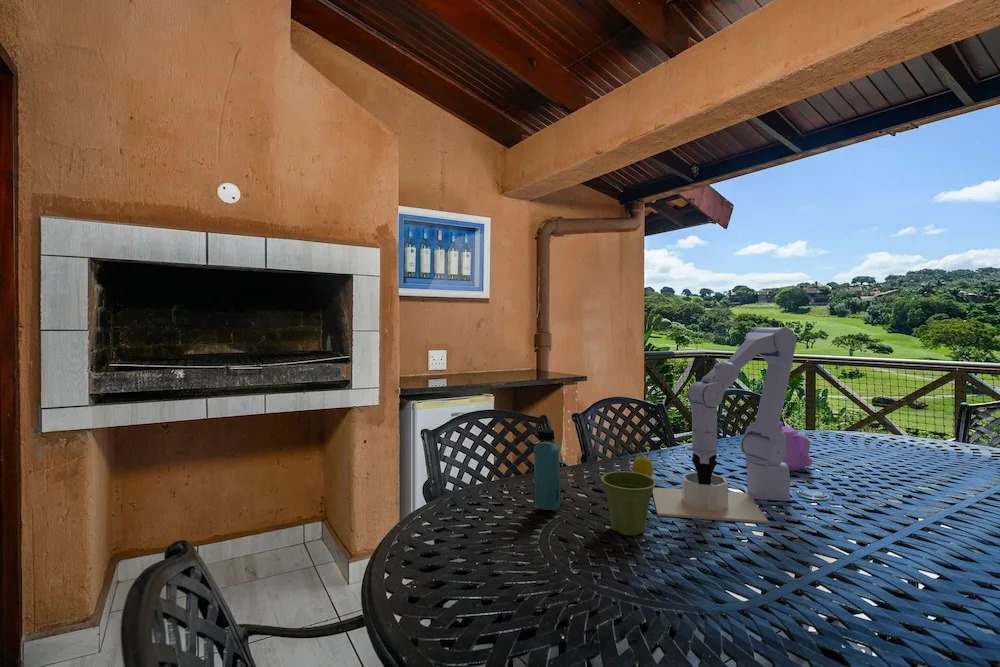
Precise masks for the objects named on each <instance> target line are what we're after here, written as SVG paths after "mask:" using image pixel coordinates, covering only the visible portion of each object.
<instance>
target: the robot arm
mask: <svg viewBox="0 0 1000 667" xmlns="http://www.w3.org/2000/svg"><path fill="white" fill-rule="evenodd" d="M744 339H745V340H744V341H743V343H742V344H741V345H739V347H738V348H737V349H736V350H735V352H733V354H732V355H731V356H730V358H728V360H727V361H719V362H716V363H715V364H714V365H713V368H711V370H710V371H709V372H708V373H707V374H706V375H704V376H703V377H702V378H701V380H700V381H695V382H693V383H692V384H691V385H690V386H689V387H688V390H687V392H686V398H687V400H688V402H689V404H690V410H691V443H692V444H691V445H688V446H687V448H686V450H687V451H691V452H692V458H691V462H692V464H693V466H694V467H695V471H696V472H697V475H698V481H699V484H704V485H710V482H711V477H712V474H713V472H714V469H715V468H716V466H717V464H718V461H717V460H716V459H717V457H718V456H717V454H718V452H719V449H718V406H719V405H721V404H722V402H723V399H724V395H725V393H726V391H727V390H728V389H729V387H731V386H732V385H733V384H734V383H735V381H737V379H738V378H739V371H740V370H741V369H742V368H744V367H745V366H746V365H747V364H748V363H750V362H751V361H752V360H753V359H754V358H755V357H756V356H759V357H761V358H762V359H763V360H764V361H765V362H766V363H767V367H766V372H765V377H764V382H763V387H762V390H761V395H760V399H759V404H758V409H757V413H756V418H755V421H754V422H753V423H751V424H749V425H748V426H746V427H747V428H746V427H745V428H746V429H745V432H744V434H743V436H742V437H741V439H740V442H739V446H740V447H739V448H740V451H741V453H742V454H744V459H746V462H747V466H746V469H747V472H746V474H747V475H746V476H747V477H746V478H747V480H746V482H747V484H746V485H747V486H742V490H743V491H744V493H747V494H748V495H749V496H750V497H751V499H752V500H765V501H766V500H767V501H781V502H782V501H783V502H784V501H785V502H786V501H787V502H791V501H792V500H791V498H790V497H791V493H790V492H791V491H790V490H791V485H790V484H791V482H790V481H791V478H790V477H791V475H790V471H789V468H788V466H787V464H786V463H784V462H782V461H783V460H784V458H785V456H786V438H787V437H786V436H785V435H784V433H783V432H782V431H781V430H780V429H779V423H780V422H781V419H782V418H781V417H782V414H783V413H782V412H783V408H784V403H785V401H786V400H785V399H786V396H787V395H786V394H787V391H788V385H789V381H790V375H791V372H792V366H793V362H794V361H793V359H794V356H795V351H796V346H797V342H798V339H797V337H796V335H795V333H794V332H793V330H792V329H791V328H789V327H787V326H785V327H784V326H783V327H760V326H755V327H753V328H752V329H750V331H749V332H747V333H746V334H745V338H744ZM762 434H766V435H768V436H769V437H770V438H769V437H765V436H761V435H762Z"/></svg>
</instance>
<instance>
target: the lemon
mask: <svg viewBox="0 0 1000 667" xmlns="http://www.w3.org/2000/svg"><path fill="white" fill-rule="evenodd" d="M632 472H636V473H641V474H644V475H647V476H650V477H652V478H653V472H654V467H653V462H652V461H651V459H650V458H648V457H647V456H645V455H644V454H642V455H640V456H637V457H636V458H635V459H634V461H633V463H632Z"/></svg>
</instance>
